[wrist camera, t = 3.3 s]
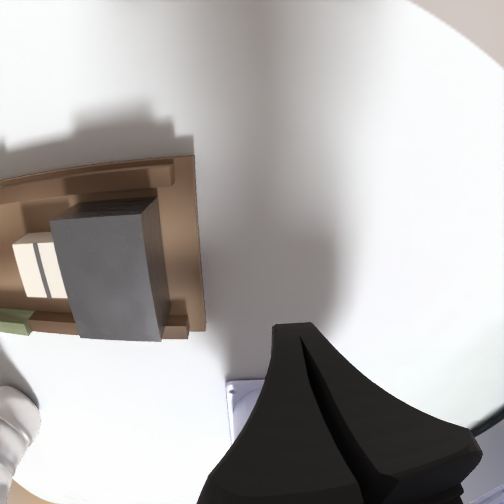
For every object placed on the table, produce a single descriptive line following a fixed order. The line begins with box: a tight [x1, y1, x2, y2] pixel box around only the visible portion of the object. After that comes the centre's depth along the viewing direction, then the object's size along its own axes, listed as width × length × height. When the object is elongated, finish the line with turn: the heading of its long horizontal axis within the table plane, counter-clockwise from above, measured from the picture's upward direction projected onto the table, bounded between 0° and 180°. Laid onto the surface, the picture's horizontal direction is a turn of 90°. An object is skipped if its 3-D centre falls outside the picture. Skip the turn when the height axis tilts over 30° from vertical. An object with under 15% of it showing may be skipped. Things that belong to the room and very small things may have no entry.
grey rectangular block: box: [49, 196, 171, 342], centre depth 16 cm, size 7×5×4 cm
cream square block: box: [12, 232, 67, 299], centre depth 17 cm, size 4×4×2 cm
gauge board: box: [0, 155, 206, 339], centre depth 16 cm, size 11×20×6 cm, turn 90°
